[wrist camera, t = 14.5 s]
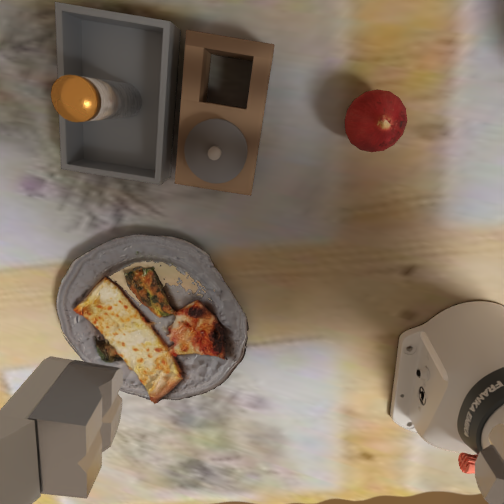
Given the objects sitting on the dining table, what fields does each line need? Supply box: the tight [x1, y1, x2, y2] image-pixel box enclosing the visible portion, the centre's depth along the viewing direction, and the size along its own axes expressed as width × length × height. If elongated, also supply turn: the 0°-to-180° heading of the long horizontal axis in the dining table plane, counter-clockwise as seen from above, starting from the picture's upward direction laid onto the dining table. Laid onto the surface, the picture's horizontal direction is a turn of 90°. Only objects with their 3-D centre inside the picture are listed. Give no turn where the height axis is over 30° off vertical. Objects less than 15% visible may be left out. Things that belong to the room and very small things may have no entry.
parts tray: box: [55, 2, 181, 185], centre depth 39 cm, size 15×10×4 cm
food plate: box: [56, 234, 249, 404], centre depth 50 cm, size 25×23×4 cm
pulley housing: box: [175, 30, 274, 196], centre depth 37 cm, size 14×8×8 cm, turn 171°
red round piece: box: [345, 90, 407, 152], centre depth 37 cm, size 6×6×8 cm
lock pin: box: [51, 75, 142, 122], centre depth 35 cm, size 3×3×12 cm
